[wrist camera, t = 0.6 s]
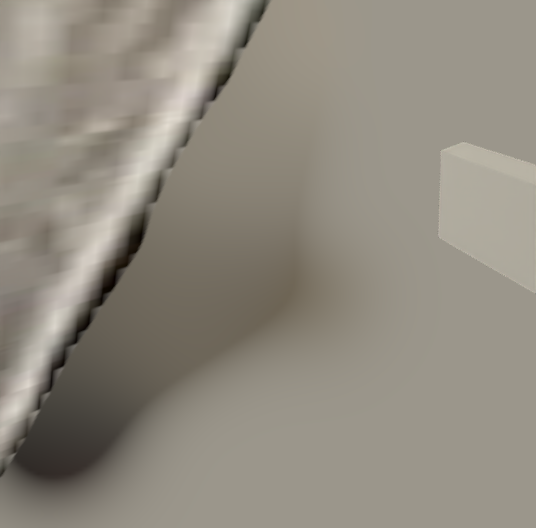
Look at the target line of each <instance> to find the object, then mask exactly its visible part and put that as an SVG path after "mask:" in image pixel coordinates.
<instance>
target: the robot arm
mask: <svg viewBox="0 0 536 528" xmlns="http://www.w3.org/2000/svg"><path fill="white" fill-rule="evenodd" d="M439 198H440V199H439V230H438V237H439V238H440V239H442V240H444V241H446V242H447V243H449V244H451V245H452V246H454V247H456V248H458V249H459V250H461V251H463V252H464V253H466V254H468V255H470V256H472V257H473V258H475V259H476V260H479V261H480V262H482V263H483V264H485V265H487V266H489V267H490V268H492V269H494V270H495V271H497V272H499V273H501V274H502V275H504V276H506V277H507V278H509V279H511V280H513V281H514V282H516V283H518V284H519V285H521V286H523V287H525V288H526V289H528V290H530V291H532V292H533V293H535V294H536V165H535V164H532V163H528V162H525V161H522V160H518V159H516V158H513V157H509V156H506V155H503V154H500V153H497V152H494V151H491V150H488V149H485V148H481V147H478V146H475V145H472V144H469V143H466V142H462V143H459V144H457V145H454V146H451V147H449V148H446V149H444V150H441V164H440V196H439Z"/></svg>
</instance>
